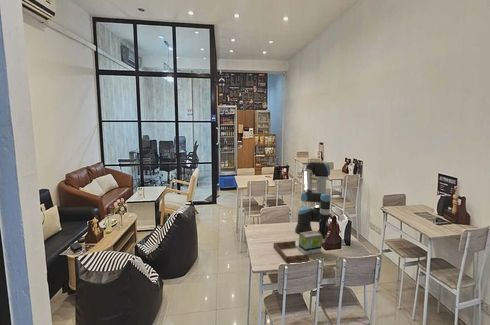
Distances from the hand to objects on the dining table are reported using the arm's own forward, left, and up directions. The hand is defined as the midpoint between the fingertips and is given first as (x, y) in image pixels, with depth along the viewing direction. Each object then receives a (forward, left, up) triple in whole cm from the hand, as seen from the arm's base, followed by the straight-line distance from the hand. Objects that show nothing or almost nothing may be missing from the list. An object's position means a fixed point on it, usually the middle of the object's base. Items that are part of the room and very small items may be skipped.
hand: (322, 242), depth 227 cm
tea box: (+11, 0, -7) cm, 13 cm away
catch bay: (+27, 0, -7) cm, 28 cm away
